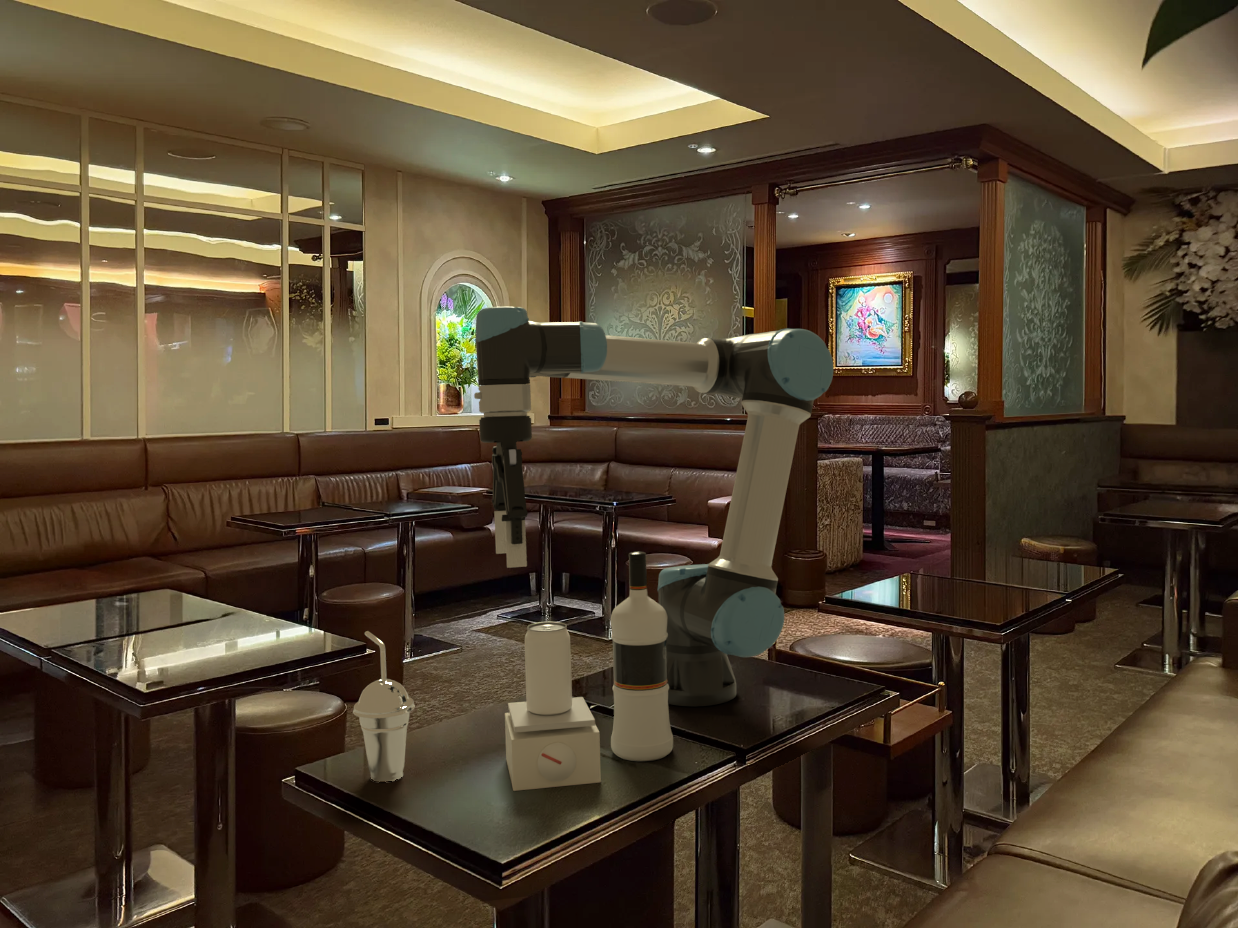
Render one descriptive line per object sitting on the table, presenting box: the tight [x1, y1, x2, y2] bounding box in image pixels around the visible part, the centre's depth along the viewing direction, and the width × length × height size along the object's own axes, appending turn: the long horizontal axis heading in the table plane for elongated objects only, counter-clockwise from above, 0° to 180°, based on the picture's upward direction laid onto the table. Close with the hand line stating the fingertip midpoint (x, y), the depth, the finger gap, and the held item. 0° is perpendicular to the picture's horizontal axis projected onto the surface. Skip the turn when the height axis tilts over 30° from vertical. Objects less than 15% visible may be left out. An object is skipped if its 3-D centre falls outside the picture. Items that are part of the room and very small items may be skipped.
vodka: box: [610, 550, 674, 763], centre depth 145 cm, size 9×9×30 cm
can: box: [524, 621, 573, 716], centre depth 139 cm, size 6×6×12 cm
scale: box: [504, 696, 602, 792], centre depth 139 cm, size 12×13×9 cm
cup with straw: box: [352, 630, 416, 783], centre depth 139 cm, size 8×9×20 cm
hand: (510, 559), depth 144 cm, fingers open, 13 cm apart
